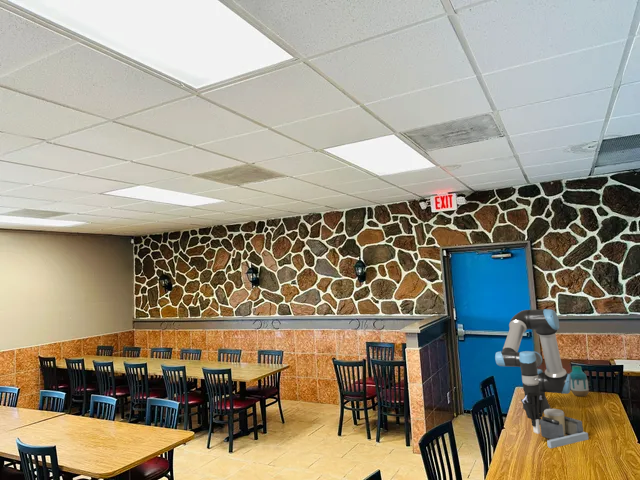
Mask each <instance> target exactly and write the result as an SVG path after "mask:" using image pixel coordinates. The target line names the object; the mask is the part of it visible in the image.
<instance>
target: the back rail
mask: <svg viewBox="0 0 640 480" xmlns="http://www.w3.org/2000/svg"><path fill="white" fill-rule="evenodd" d="M587 440H589V433H588V432H586V431H583V432H581V433H577V434H573V435H565V436H564V437H560V438H555V439H547V440H546V441H547V442H546V443H547V447H548V448H549V449H554V448H559V447H562V446H566V445H570V444H576V443H580V442H584V441H587Z"/></svg>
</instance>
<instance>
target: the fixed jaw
mask: <svg viewBox="0 0 640 480" xmlns="http://www.w3.org/2000/svg"><path fill="white" fill-rule="evenodd" d="M564 420H565V436H568V435H573V434H577V433H581V432H584V427H583V421H582V420H579V419H577V418H573V417H568V416H566V415H564Z"/></svg>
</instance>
